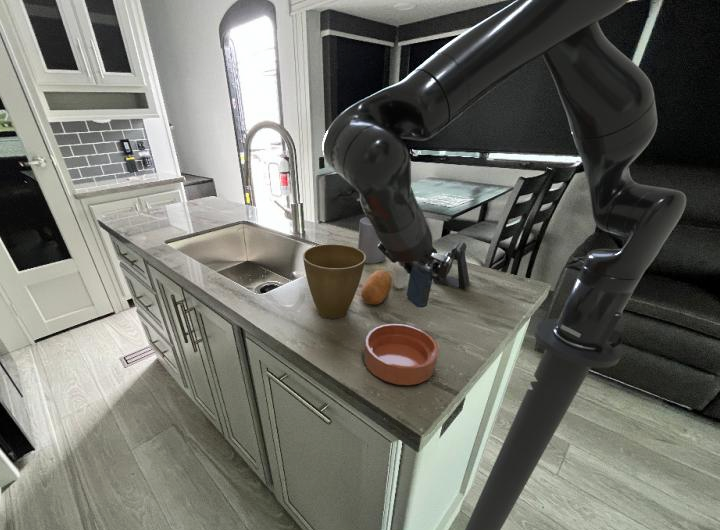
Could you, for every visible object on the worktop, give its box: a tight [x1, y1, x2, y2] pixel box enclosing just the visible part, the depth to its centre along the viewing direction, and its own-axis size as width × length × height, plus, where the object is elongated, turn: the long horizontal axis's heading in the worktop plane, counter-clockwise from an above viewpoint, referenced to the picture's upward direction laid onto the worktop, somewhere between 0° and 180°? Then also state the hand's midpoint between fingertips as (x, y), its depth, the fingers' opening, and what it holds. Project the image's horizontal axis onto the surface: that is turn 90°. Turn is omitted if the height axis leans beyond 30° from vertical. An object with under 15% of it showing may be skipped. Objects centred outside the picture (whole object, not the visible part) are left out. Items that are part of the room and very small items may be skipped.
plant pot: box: [302, 243, 366, 320], centre depth 80 cm, size 15×15×16 cm
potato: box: [360, 269, 393, 306], centre depth 89 cm, size 7×13×7 cm, turn 153°
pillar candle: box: [357, 216, 386, 265], centre depth 111 cm, size 10×10×15 cm
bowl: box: [363, 323, 440, 386], centre depth 66 cm, size 14×14×5 cm
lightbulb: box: [390, 261, 409, 290], centre depth 93 cm, size 6×6×11 cm
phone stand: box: [433, 241, 470, 291], centre depth 95 cm, size 9×6×12 cm, turn 58°
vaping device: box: [405, 265, 435, 309], centre depth 63 cm, size 3×5×12 cm, turn 22°
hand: (425, 274), depth 64 cm, fingers closed on vaping device, 5 cm apart
